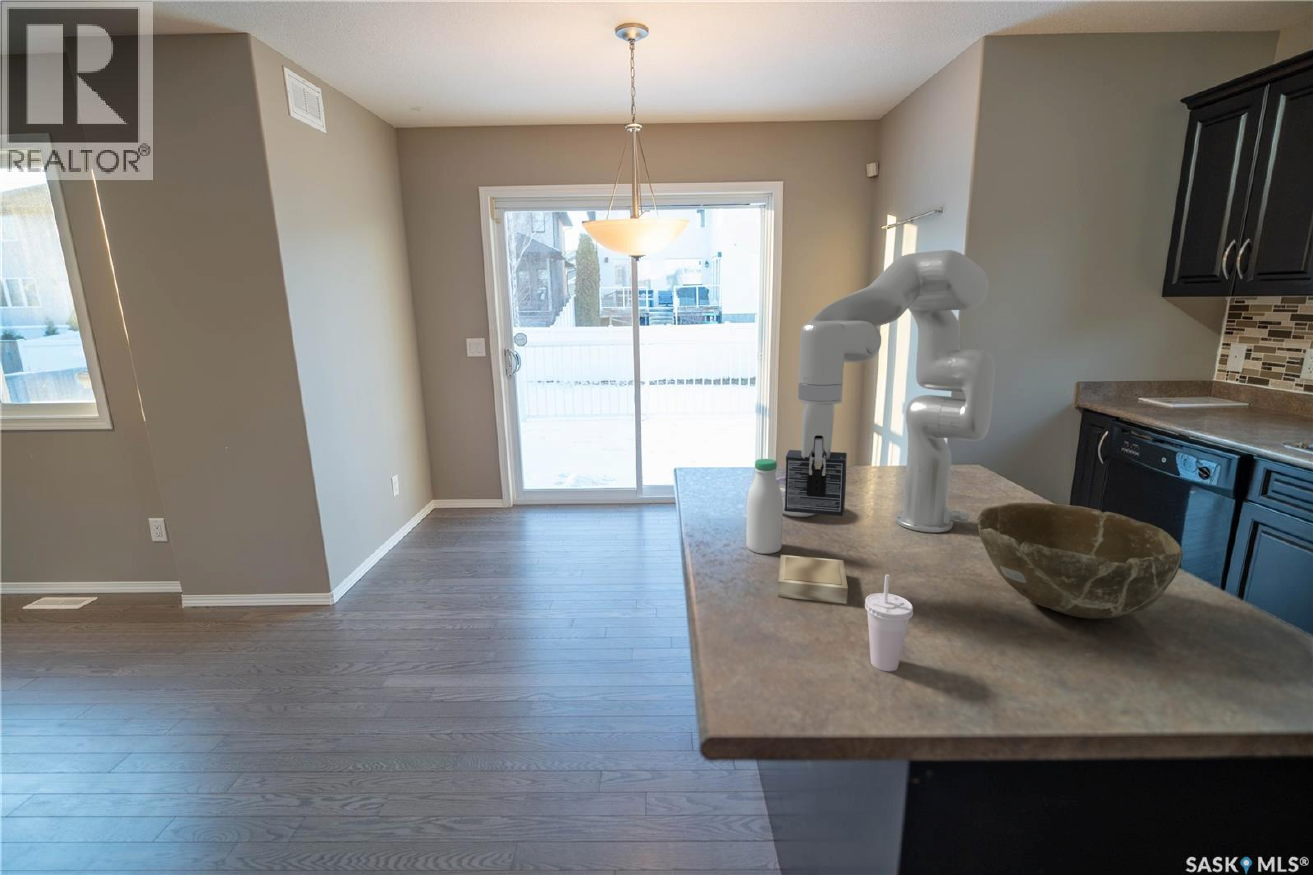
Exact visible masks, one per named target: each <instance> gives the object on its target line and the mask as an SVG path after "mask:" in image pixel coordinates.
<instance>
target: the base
mask: <svg viewBox="0 0 1313 875" xmlns="http://www.w3.org/2000/svg"><path fill="white" fill-rule="evenodd" d="M779 559H780V560H779V570H778V580H777V585H778V586H777V597H778V598H779V597H780V598H785V599H787V598H789V599H795V600H796V599H797V600H798V599H799V600H804V601H805V600H806V601H815V602H827V603H834V604H845V605H847V604H848V590H849V588H848V581H847V576H846V569H845V564H844V560H843V559H834V558H833V559H832V558H821V557H811V556H800V555H799V556H797V555H786V554H780V558H779Z"/></svg>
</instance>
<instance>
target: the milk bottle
mask: <svg viewBox="0 0 1313 875" xmlns="http://www.w3.org/2000/svg"><path fill="white" fill-rule="evenodd" d="M777 468H778V463H777V461H776V460H774V459H773V458H772V459H771V458H759V459H756V460H755V461H754V471H755V475H754V479H753V481H752V483H751V485H750V487H749V490H748V492H747V493H748V494H747V502H746V532H745V535H746V537H745V539H746V540H745V541H746V544H745V545H746V547H747V549H748V550H749V551H750V552H753V553H757V554H761V555H762V554H763V555H768V554H771V555H772V554H775V553H777V552H779V551H781V548H782V545H783V544H782V542H783V515H784V514H783V499H782V493H781V490H780V487H779V485H778V483H777V480H776V478H777V477H776V472H777Z"/></svg>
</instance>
